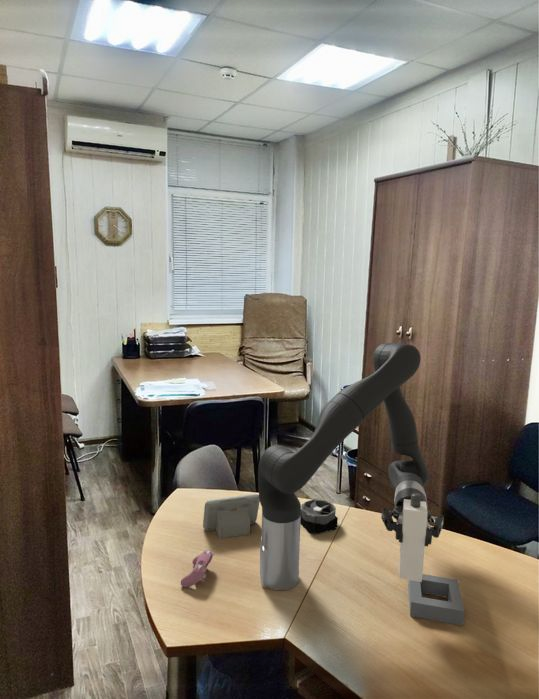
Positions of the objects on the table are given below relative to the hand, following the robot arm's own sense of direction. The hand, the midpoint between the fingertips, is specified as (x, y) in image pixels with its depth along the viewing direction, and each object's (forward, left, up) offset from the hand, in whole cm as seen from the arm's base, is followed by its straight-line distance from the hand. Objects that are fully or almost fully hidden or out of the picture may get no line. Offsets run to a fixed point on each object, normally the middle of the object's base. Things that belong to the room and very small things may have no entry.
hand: (413, 540), depth 103 cm
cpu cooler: (-11, +42, -20) cm, 48 cm away
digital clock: (-36, +41, -20) cm, 58 cm away
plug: (+1, +3, -9) cm, 10 cm away
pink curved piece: (-45, +20, -20) cm, 53 cm away
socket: (+9, +6, -20) cm, 22 cm away
